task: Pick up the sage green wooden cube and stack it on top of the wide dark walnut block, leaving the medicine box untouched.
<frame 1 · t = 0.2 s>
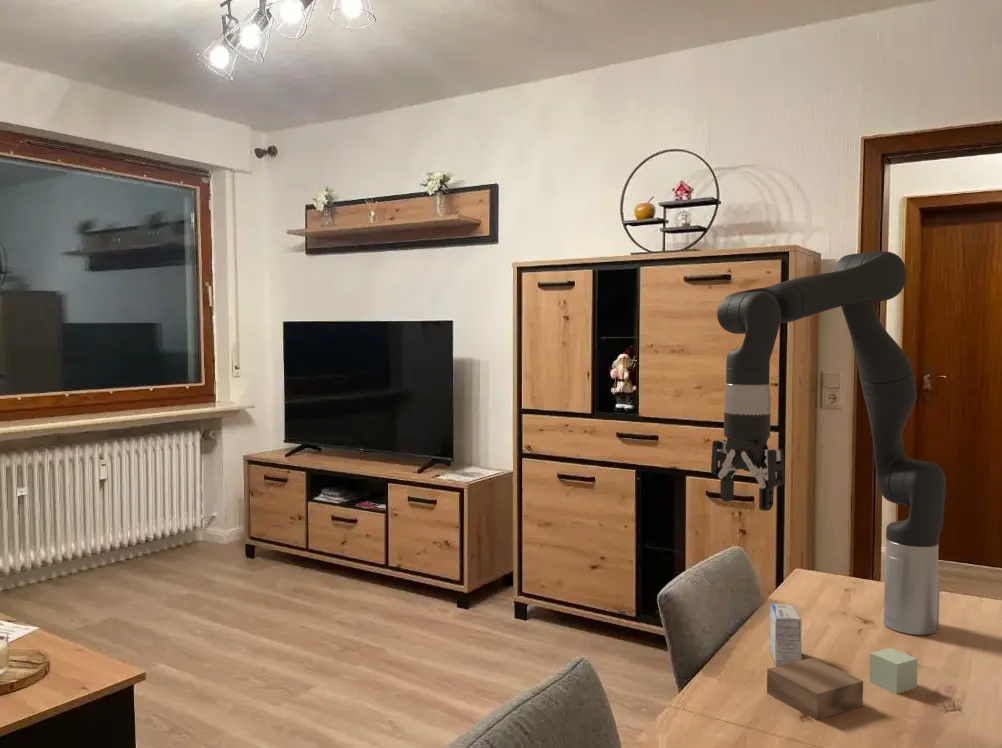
hand: (745, 505, 136), 29 cm above the table, tool pointing down, fingers open, 8 cm apart
walnut block: (813, 699, 127), on the table
sage green cube: (892, 685, 132), on the table
medicine box: (784, 659, 143), on the table
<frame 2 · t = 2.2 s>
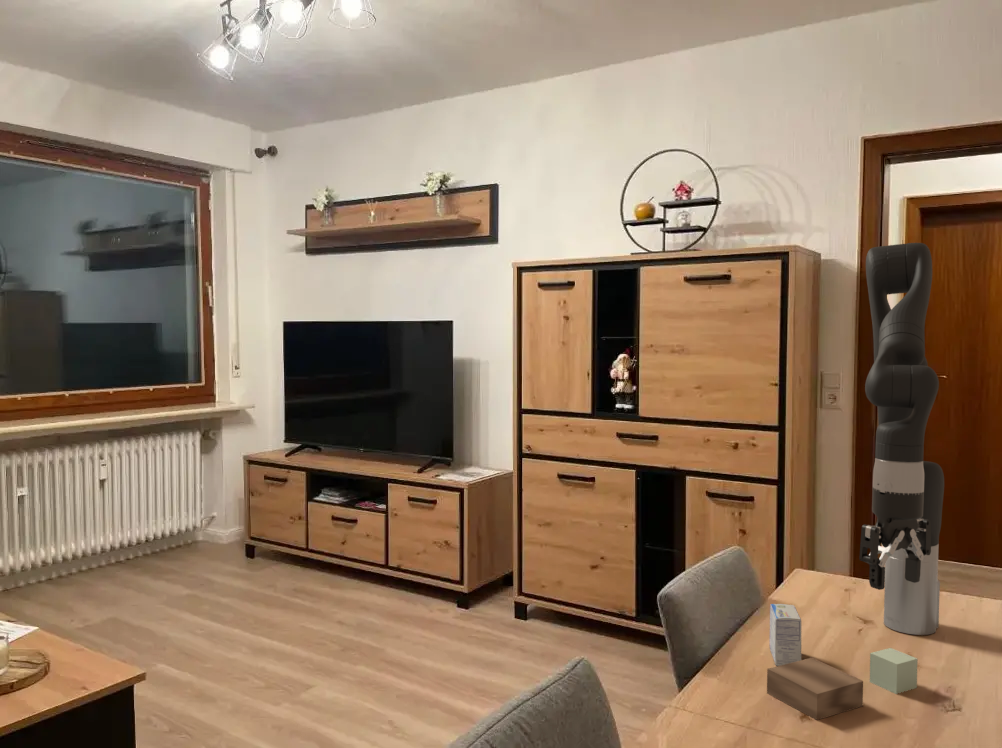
hand: (894, 584, 131), 17 cm above the table, tool pointing down, fingers open, 8 cm apart
nothing on the table moved.
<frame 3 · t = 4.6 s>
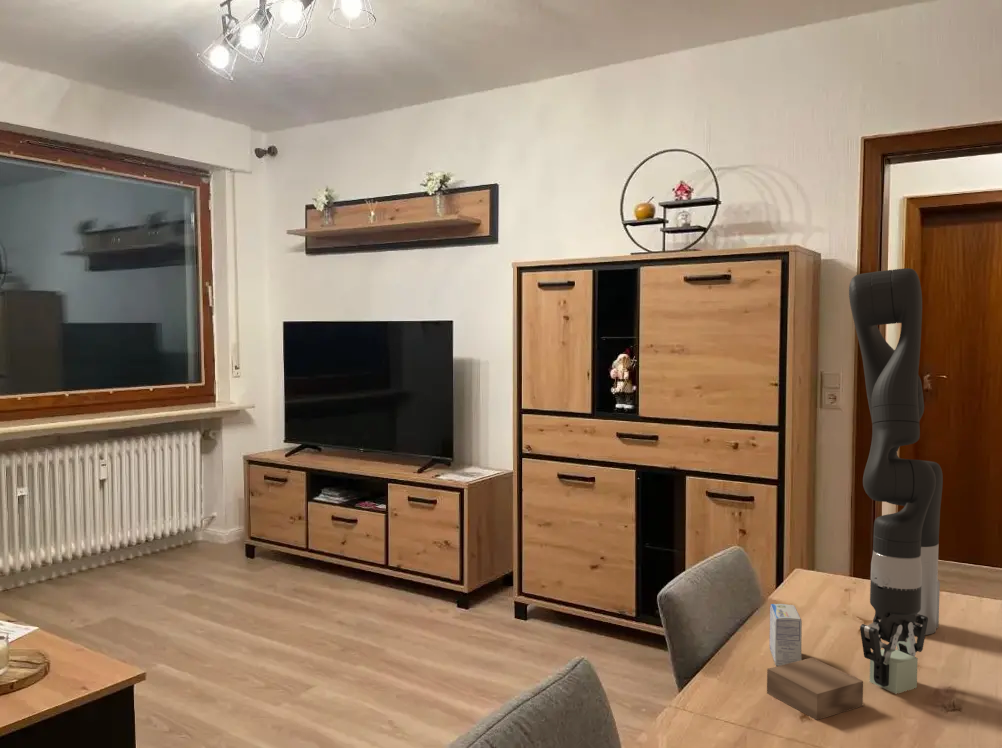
hand: (892, 680, 132), 1 cm above the table, tool pointing down, fingers closed on sage green cube, 5 cm apart
sage green cube: (892, 684, 132), on the table, touching gripper
everything else where it was.
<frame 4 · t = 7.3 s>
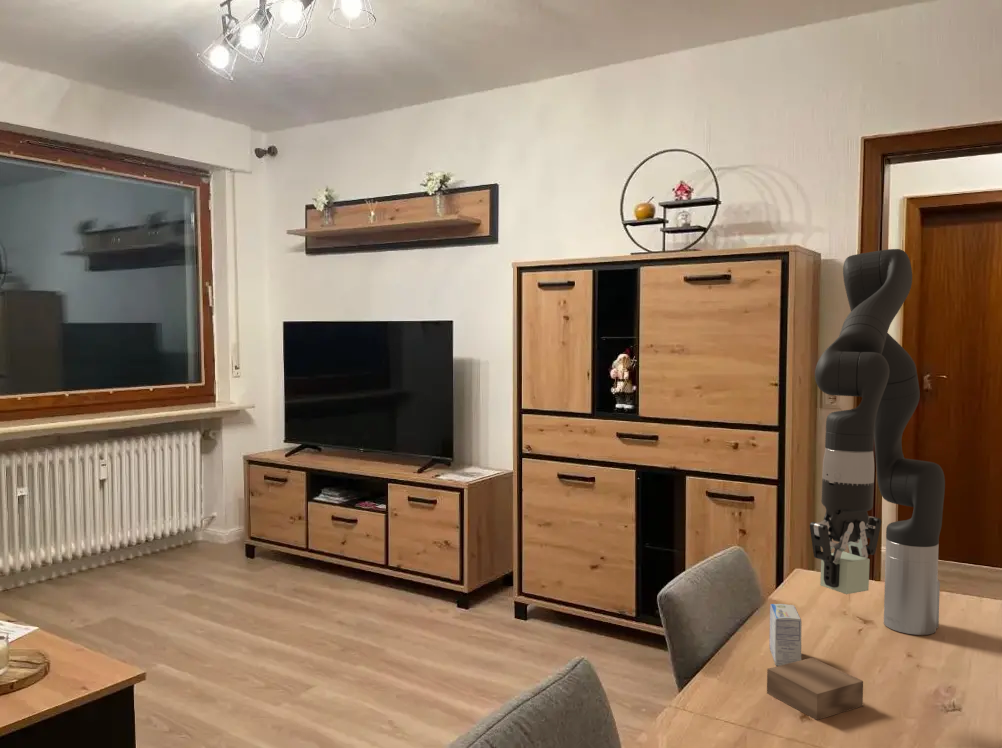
hand: (843, 583, 127), 18 cm above the table, tool pointing down, fingers closed on sage green cube, 5 cm apart
sage green cube: (844, 587, 127), point 18 cm above the table, touching gripper
everything else where it was.
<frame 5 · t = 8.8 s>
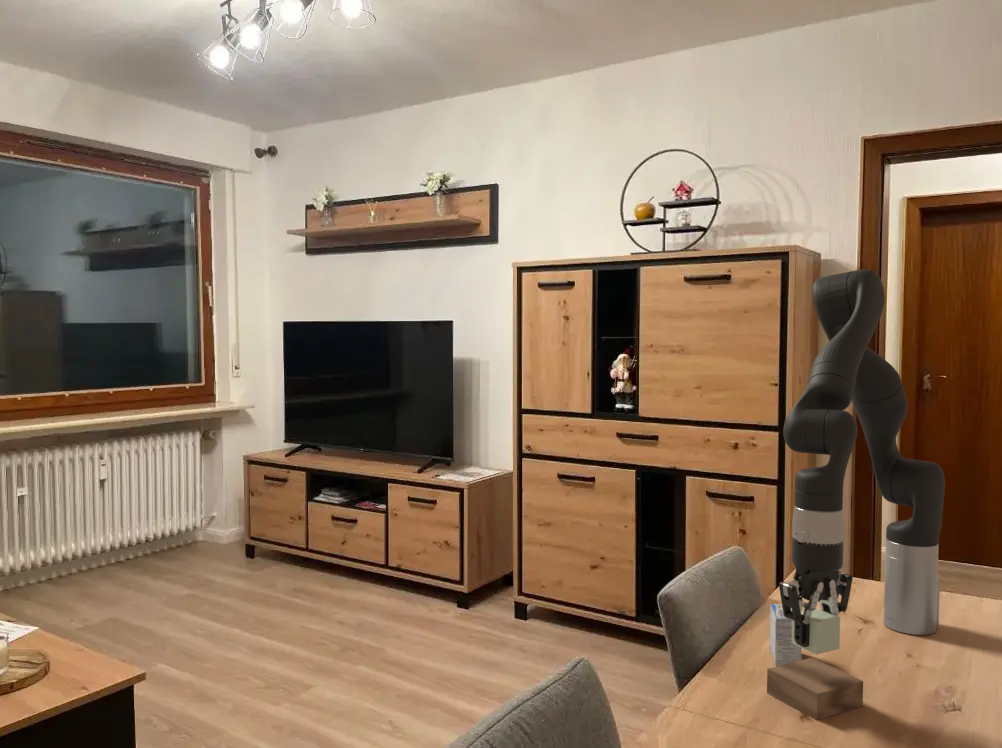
hand: (814, 641, 126), 9 cm above the table, tool pointing down, fingers closed on sage green cube, 5 cm apart
sage green cube: (815, 646, 126), point 9 cm above the table, touching gripper
everything else where it was.
when the fingers open (6 cm above the table, at t = 9.9 s): sage green cube drops 1 cm, resting on walnut block.
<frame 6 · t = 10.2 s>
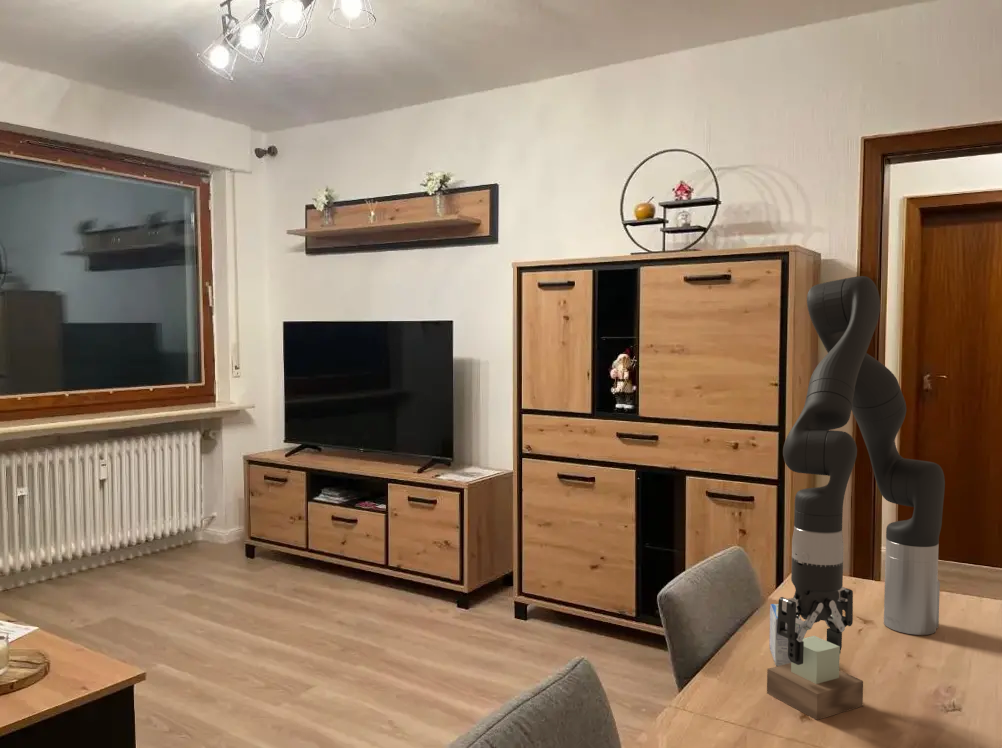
hand: (814, 658, 126), 7 cm above the table, tool pointing down, fingers open, 8 cm apart
sage green cube: (814, 674, 126), point 4 cm above the table, touching walnut block
everything else where it was.
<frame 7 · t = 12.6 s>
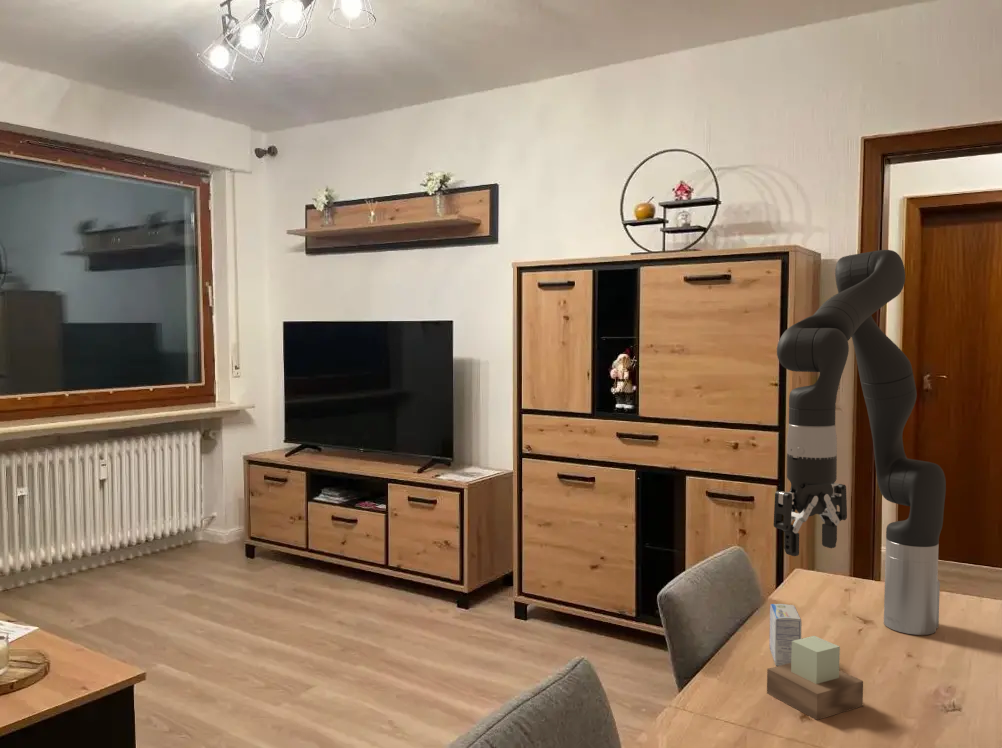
hand: (810, 550, 130), 23 cm above the table, tool pointing down, fingers open, 8 cm apart
nothing on the table moved.
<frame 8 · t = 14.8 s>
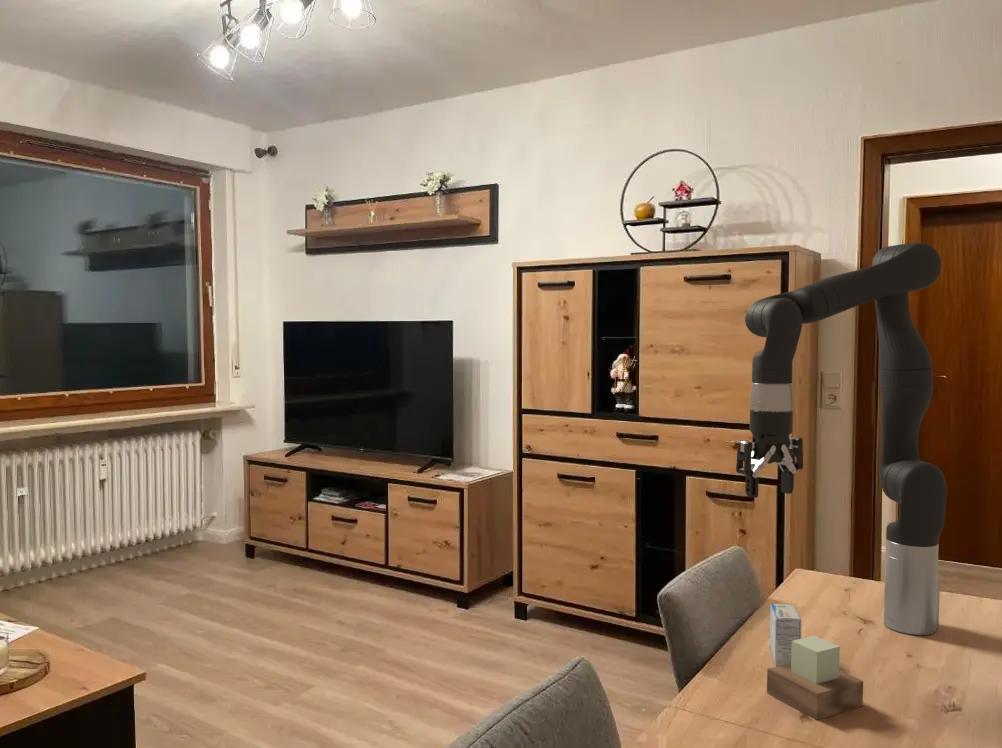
hand: (769, 495, 147), 28 cm above the table, tool pointing down, fingers open, 8 cm apart
nothing on the table moved.
at the end: sage green cube 0.1 cm off-centre on the walnut block, point 4.0 cm above the walnut block's base; sage green cube tilted 0°; the gripper is holding nothing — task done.
